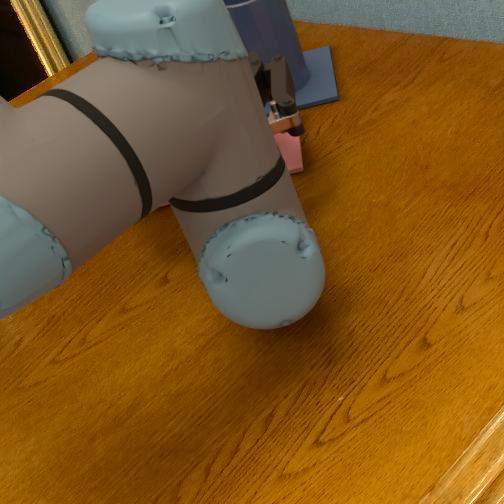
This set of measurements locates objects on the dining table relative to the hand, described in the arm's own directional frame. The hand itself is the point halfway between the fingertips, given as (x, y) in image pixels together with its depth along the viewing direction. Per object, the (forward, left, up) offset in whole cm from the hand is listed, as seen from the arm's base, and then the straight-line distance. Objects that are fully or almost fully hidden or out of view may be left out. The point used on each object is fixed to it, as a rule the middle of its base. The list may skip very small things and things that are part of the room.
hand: (184, 66), depth 86 cm
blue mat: (+6, +8, -7) cm, 12 cm away
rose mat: (+1, -5, -7) cm, 8 cm away
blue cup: (+6, +8, -7) cm, 12 cm away
